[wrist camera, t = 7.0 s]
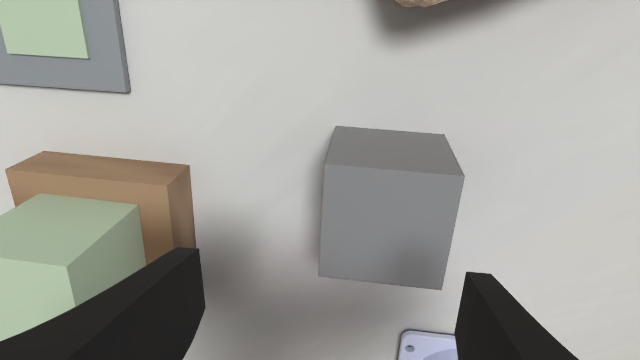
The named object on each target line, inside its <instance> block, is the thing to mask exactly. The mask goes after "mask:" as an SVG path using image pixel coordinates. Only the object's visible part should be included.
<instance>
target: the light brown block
mask: <svg viewBox="0 0 640 360" xmlns="http://www.w3.org/2000/svg"><path fill="white" fill-rule="evenodd" d="M5 171H6V175H7V178H8V182H9V185H10V189H11V193H12V196H13V200H14V203H15V207H17V206H18V205H20V204H22V203H24V202H25V201H27V200H29V199H30V198H32V197H34V196H36V195H37V194H39V193H42V194H51V195H60V196H69V197H78V198H87V199H95V200H104V201H112V202H121V203H129V204H138V206H139V214H140V221H141V229H142V236H143V244H144V251H145V259H146V265H148V264H149V263H151V262H153V261H154V260H156V259H157V258H159V257H161V256H162V255H164V254H166V253H168V252H169V251H171V250H173V249H175V248H177V247H185V248H196V241H195V229H194V216H193V204H192V191H191V179H190V166H189V165H183V164H172V163H162V162H152V161H141V160H131V159H121V158H110V157H100V156H90V155H79V154H69V153H59V152H48V151H43V152H41V153H39V154H37V155H35V156H33V157H30V158H28V159H26V160H24V161H22V162H20V163H18V164H16V165H14V166H11V167H9V168H7V169H5Z"/></svg>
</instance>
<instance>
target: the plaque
mask: <svg viewBox="0 0 640 360" xmlns="http://www.w3.org/2000/svg"><path fill="white" fill-rule="evenodd" d="M0 84H13V85H27V86H41V87H55V88H69V89H83V90H97V91H111V92H125V93H126V92H129V91H131V90H130V83H129V76H128V69H127V61H126V54H125V47H124V40H123V33H122V26H121V19H120V12H119V5H118V0H0Z"/></svg>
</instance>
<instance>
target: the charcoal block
mask: <svg viewBox="0 0 640 360" xmlns="http://www.w3.org/2000/svg"><path fill="white" fill-rule="evenodd" d="M464 178H465V176H464V174H463V172H462V170H461V168H460V166H459V164H458V162H457V159H456V157H455V155H454V153H453V151H452V149H451V147H450V145H449V143H448V141H447V139H446V137H445V135H444V134H431V133H419V132H406V131H393V130H381V129H368V128H356V127H343V126H336V128H335V131H334V134H333V137H332V141H331V144H330V147H329V150H328V154H327V157H326V160H325V163H324V180H323V198H322V216H321V235H320V253H319V271H318V276H321V277H329V278H338V279H347V280H356V281H365V282H373V283H382V284H391V285H400V286H408V287H417V288H426V289H435V290H442V286H443V281H444V276H445V271H446V266H447V261H448V256H449V251H450V246H451V241H452V236H453V232H454V227H455V222H456V217H457V212H458V207H459V202H460V197H461V192H462V187H463V182H464Z"/></svg>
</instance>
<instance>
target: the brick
mask: <svg viewBox="0 0 640 360" xmlns="http://www.w3.org/2000/svg"><path fill="white" fill-rule="evenodd" d="M394 1H395V2H398V3H399V4H400V5H401V6H403V7H411V8H413V7H415V6H417V5H420V6H421V7H423V8H424V7H428V6H431V5H435V4H438V3H440V2H443V1H446V0H394Z"/></svg>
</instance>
